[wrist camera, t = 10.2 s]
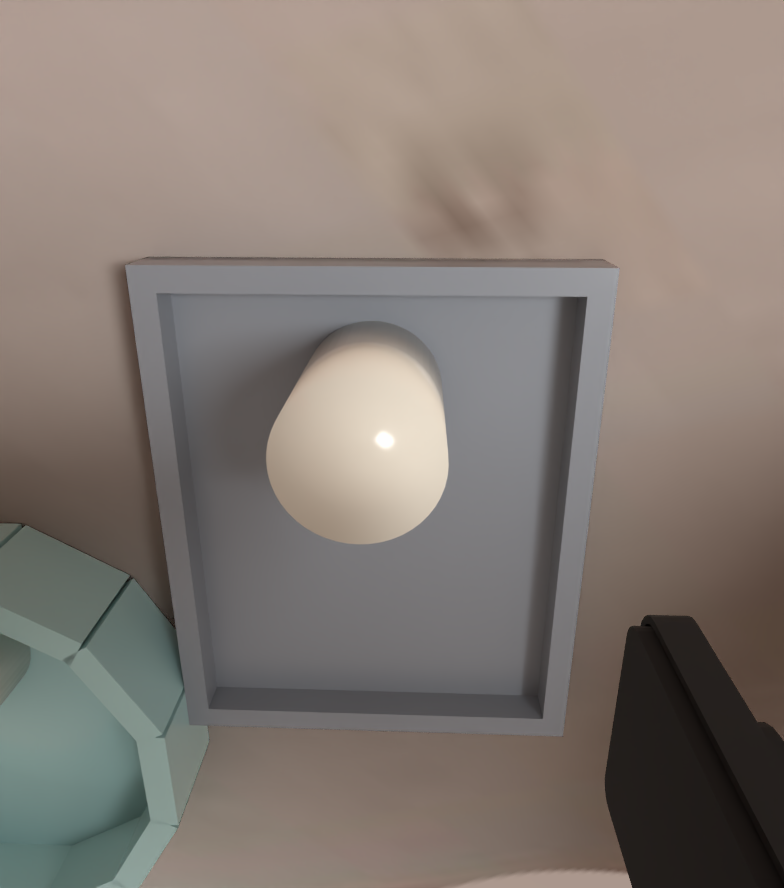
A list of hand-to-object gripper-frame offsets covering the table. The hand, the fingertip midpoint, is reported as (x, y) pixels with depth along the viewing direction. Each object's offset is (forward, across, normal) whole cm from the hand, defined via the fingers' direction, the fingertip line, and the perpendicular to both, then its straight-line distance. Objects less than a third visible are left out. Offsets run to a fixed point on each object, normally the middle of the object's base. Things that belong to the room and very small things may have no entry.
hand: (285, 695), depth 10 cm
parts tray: (+14, 0, +4) cm, 15 cm away
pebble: (+14, 0, 0) cm, 14 cm away
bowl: (+15, +14, +14) cm, 25 cm away
